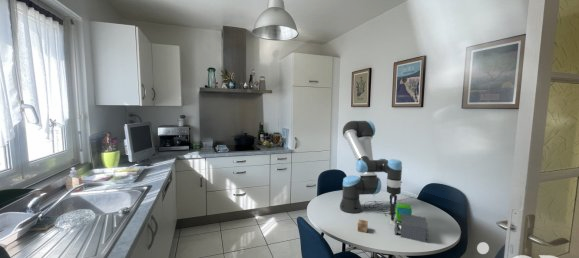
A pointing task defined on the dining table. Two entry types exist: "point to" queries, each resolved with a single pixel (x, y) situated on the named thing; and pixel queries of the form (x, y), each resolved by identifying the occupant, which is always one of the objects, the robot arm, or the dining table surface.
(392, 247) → the dining table surface
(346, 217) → the dining table surface
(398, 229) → the grey drawer
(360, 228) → the walnut block
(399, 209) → the green and teal box
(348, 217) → the dining table surface
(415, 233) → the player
